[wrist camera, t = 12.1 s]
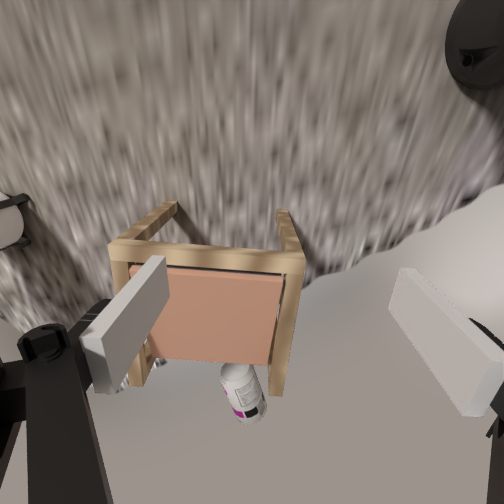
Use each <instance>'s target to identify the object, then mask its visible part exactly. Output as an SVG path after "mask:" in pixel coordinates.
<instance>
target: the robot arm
mask: <svg viewBox="0 0 504 504" xmlns="http://www.w3.org/2000/svg"><path fill="white" fill-rule="evenodd" d="M445 53H446V60H447V64H448V66H449V69H450V71H451V73H452V74H453V76H454V77H455V78H456V79H457V80H458V81H459V82H460V83H461V84H463V85H465V86H467V87H469V88H473V89H490V88H496V87H501V86H504V0H460V2H459V3H458V5H457V7H456V9H455V11H454V13H453V15H452V17H451V20H450V23H449V26H448V30H447V34H446V42H445ZM169 298H170V292H169V283H168V274H167V264H166V256H160V255H152V256H151V257H150V258H149V259H148V260H147V261H146V263H145V264H144V265H143V266H142V267H141V268H140V269H139V270H138V272H137V273H136V274H135V275H134V276H133V277H132V278H131V279H130V280H129V282H128V283H127V284H126V285H125V286H124V287H123V288H122V289H121V291H120V292H119V293H118V294H117V295H116V296H115V297H114V298H113V299H104V300H102V301H100V302H99V303H97V304H95V305H94V306H93V307H92V308H91V309H90V310H89V311H88V312H87V314H85V315H84V316H83V317H82V318H81V320H80V321H78V322H77V323H76V324H75V325H74V326H73V327H72V328H71V329H70V331H69V332H68V333H67V331H66V328H65V327H64V326H63V325H61V324H58V323H57V324H46V325H42V326H39V327H36V328H34V329H32V330H30V331H28V332H27V333H25V334H24V335H23V336H22V337H21V338H20V339H19V340H18V343H17V346H18V349H19V351H20V353H21V356H22V358H23V360H18V361H13V362H7V363H3V362H2V360H1V358H0V488H1V485H2V482H3V479H4V475H5V472H6V469H7V466H8V463H9V460H10V457H11V454H12V451H13V448H14V445H15V442H16V438H17V435H18V432H19V429H20V426H21V423H22V421H25V420H26V428H27V465H28V466H27V467H28V502H29V503H28V504H113V499H112V495H111V491H110V487H109V483H108V479H107V475H106V471H105V467H104V463H103V459H102V455H101V451H100V447H99V442H98V438H97V435H96V430H95V427H94V422H93V418H92V414H91V410H90V406H89V403H88V398H87V395H86V391H87V389H88V388H89V386H90V385H91V383H92V384H93V387H94V391H95V393H103V394H115V393H116V391H117V390H118V388H119V386H120V384H121V383H122V381H123V379H124V377H125V375H126V374H127V372H128V370H129V368H130V367H131V365H132V363H133V361H134V360H135V358H136V356H137V354H138V352H139V351H140V349H141V347H142V345H143V344H144V342H145V340H146V338H147V337H148V335H149V333H150V331H151V329H152V328H153V326H154V324H155V322H156V321H157V319H158V317H159V315H160V314H161V312H162V310H163V308H164V306H165V305H166V303H167V301H168V299H169ZM388 309H389V311H390V312H391V313H392V315H393V317H394V318H395V320H396V321H397V322H398V324H399V325H400V327H401V328H402V330H403V331H404V332H405V334H406V335H407V337H408V338H409V340H410V341H411V343H412V344H413V345H414V347H415V348H416V350H417V351H418V353H419V354H420V356H421V357H422V359H423V360H424V361H425V363H426V364H427V366H428V367H429V369H430V370H431V371H432V373H433V374H434V376H435V377H436V379H437V380H438V382H439V383H440V384H441V386H442V387H443V389H444V390H445V392H446V393H447V394H448V396H449V397H450V399H451V400H452V402H453V403H454V405H455V406H456V408H457V409H458V410H459V412H460V413H461V415H462V416H472V417H484V415H485V414H486V412H487V410H488V408H489V407H490V406H491V407H492V409H493V410H494V411H495V412H496V413H497V414H498V417H497V418H496V420H495V421H494V423H493V424H492V426H491V427H490V429H489V431H488V432H487V434H486V436H487V437H488V438H490V436H491V435H492V434H493V438H492V449H491V460H490V471H489V482H488V493H487V504H504V344H502V342H501V341H500V340H499V339H498V338H497V337H494V334H492V333H491V332H490V331H489V330H488V329H487V328H486V327H485V326H483V325H481V324H480V323H478V322H476V321H475V320H473V319H471V318H467V317H466V316H465V315H464V314H463V313H462V312H461V311H460V310H459V309H457V308H456V307H455V306H454V305H453V304H452V303H451V302H450V301H449V300H448V299H447V298H445V297H444V296H443V295H442V294H441V293H440V292H439V291H438V290H437V289H436V288H435V287H434V286H433V285H431V284H430V283H429V282H428V281H427V280H426V279H425V278H424V277H423V276H422V275H421V274H419V273H418V272H417V271H416V270H415V269H413V268H400V270H399V273H398V277H397V280H396V283H395V287H394V290H393V293H392V296H391V300H390V303H389V307H388Z"/></svg>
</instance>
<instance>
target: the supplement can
mask: <svg viewBox="0 0 504 504" xmlns="http://www.w3.org/2000/svg"><path fill="white" fill-rule="evenodd" d="M220 380H221V383H222V386H223V388H224V390H225V392H226V395H227V397H228V399H229V401H230V404H231V406H232V408H233V410H234V413H235V415H236V417H237V419H238V420H239V421H240V422H241V423H243V424H247V425H250V424H254V423H256V422H258V421H260V420H261V418H262V417H263V416H264V414H265V412H266V407H267V404H266V401H265V398H264V395H263V392H262V389H261V387H260V384H259V381H258V379H257V376H256V373H255V371H254V367H253V365H252V364H238V363H225V364H224V365H223V367H222V369H221V375H220Z"/></svg>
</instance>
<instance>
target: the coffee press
mask: <svg viewBox="0 0 504 504" xmlns="http://www.w3.org/2000/svg"><path fill="white" fill-rule="evenodd" d="M28 200H29V198H28V197H27V196H26V195H25V194H24V193H22V194H20V195H17V196H15V197H12V198H9V197H7V196H6V195H5V194H3V193H2V192H0V251H2V250H5V249H7V248H9V247H12V246H17V247H26V246H28V245H29V244H30V243H31V241H30V240H29V239H28V238H25V237H22V236H21V235H22V233H23V229H24V222H23V218H22V215H21V213H20V211H19V209H18V207H17V206H18V205H20V204H22V203H24V202H26V201H28ZM18 240H20V241H23V242H24V243H25V244H24V243H15V242H16V241H18ZM13 243H15V244H13ZM5 247H6V248H5Z"/></svg>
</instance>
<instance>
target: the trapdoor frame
mask: <svg viewBox="0 0 504 504" xmlns="http://www.w3.org/2000/svg"><path fill="white" fill-rule="evenodd" d="M177 211H178V210H177V201H169V200H166V201H165V202H164V203H162V204H161V205H160V206H158V207H157V208H156V209H155V210H153V211H152V212H151V213H149V214H148V215H147V216H145V217H144V218H143V219H141V220H140V221H139V222H137V223H136V224H135V225H133V226H132V227H131V228H129V229H128V230H127V231H125V232H124V233H123V234H121V235H120V236H119V237H117V238H116V239H115V240H113V241H112V242H111V243H109V244H108V249H109V255H110V262H111V268H112V275H113V281H114V288H115V294H116V295H117V294H118V293H119V292H120V291H121V289H122V288H123V287H124V286H125V285H126V284H127V283H128V282H129V280H130V279H131V277H130V273H129V270H130V268H131V266H132V265H135V262H139V263H146V261H147V260H148V259H149V258H150V257H151V256H152V255H160V256H166V264H167V265H179V266H192V267H205V268H218V269H231V270H244V271H257V272H271V273H284V280H283V287H282V294H281V301H280V308H279V316H278V322H277V316H276V321H275V326H274V331H273V336H272V342H271V347H270V352H269V357H268V379H269V380H268V382H269V395H270V396H281V397H282V395H283V390H284V384H285V378H286V373H287V367H288V361H289V356H290V350H291V344H292V339H293V333H294V327H295V321H296V315H297V310H298V305H299V299H300V293H301V288H302V282H303V276H304V271H305V265H306V258H305V255H304V252H303V250H302V247H301V245H300V242H299V239H298V237H297V234H296V232H295V229H294V226H293V224H292V221H291V218H290V216H289V213H288V211H287V210H281V209H277V212H276V223H277V228H278V233H279V238H280V242H281V247H282V251H272V250H259V249H246V248H234V247H221V246H208V245H195V244H182V243H169V242H156V241H148V240H149V239H150V238H151V237H152V236H153V235H154V234H155V233H156V232H157V231H158V230H159V229H160V228H161V227H162V226H163V225H164V224H165V223H166V222H167V221H168V220H169V219H170V218H171V217H172V216H173V215H174V214H175V213H176V212H177ZM155 359H156V358H154V357H152V354H151V350H150V347H149V343H148V340H147V342H146V343H145V345H144V344H143V345H142V347H141V349H140V351H139V352H138V354H137V356H136V358H135V360H134V361H133V363H132V365H131V367H130V368H129V370H128V379H129V385H130V386H137V387H143V386H144V383H145V381H146V379H147V377H148V375H149V372H150V370H151V368H152V366H153V363H154V361H155Z"/></svg>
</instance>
